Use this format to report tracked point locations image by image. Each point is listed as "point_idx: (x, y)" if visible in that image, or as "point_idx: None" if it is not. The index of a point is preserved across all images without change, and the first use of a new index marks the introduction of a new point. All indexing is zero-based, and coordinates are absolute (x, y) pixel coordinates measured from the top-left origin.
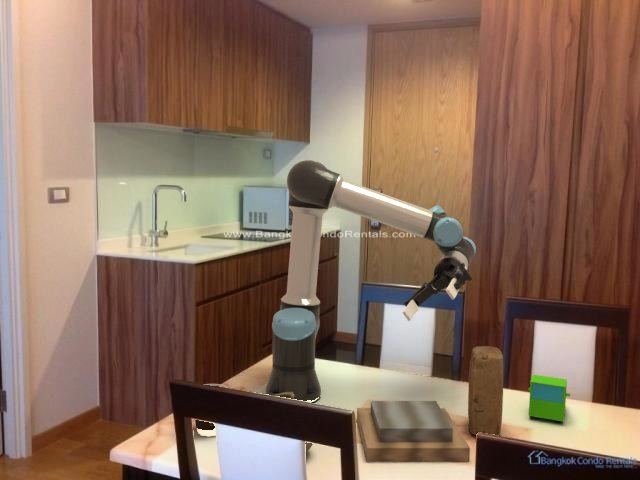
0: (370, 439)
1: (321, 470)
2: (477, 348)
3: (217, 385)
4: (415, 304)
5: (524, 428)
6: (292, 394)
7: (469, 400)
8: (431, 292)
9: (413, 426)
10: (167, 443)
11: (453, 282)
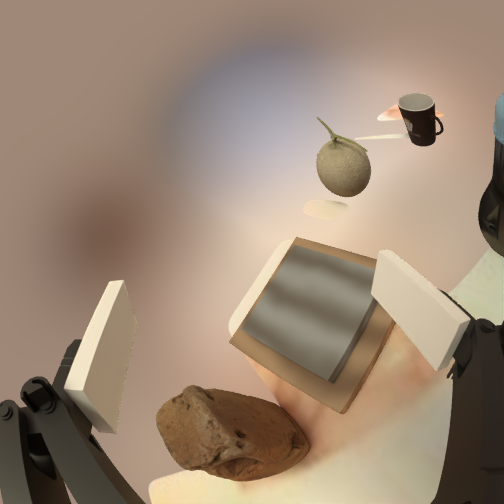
0: (311, 247)
1: (310, 204)
2: (205, 427)
3: (431, 105)
4: (442, 344)
5: (246, 485)
6: (331, 136)
7: (264, 407)
8: (446, 484)
9: (275, 285)
10: None
11: (84, 348)
